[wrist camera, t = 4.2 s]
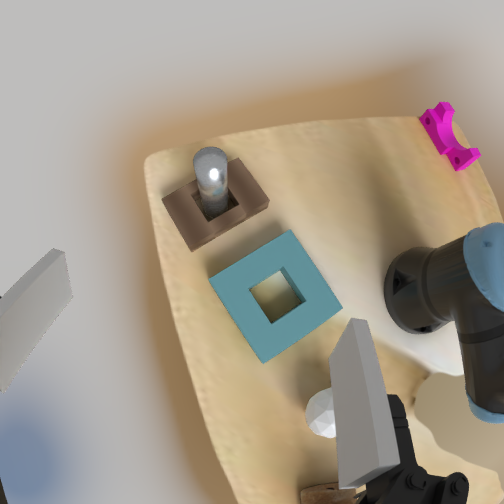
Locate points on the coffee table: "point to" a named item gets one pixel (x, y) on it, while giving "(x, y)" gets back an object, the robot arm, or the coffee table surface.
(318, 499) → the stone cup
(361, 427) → the robot arm
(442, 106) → the magenta curved bracket
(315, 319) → the seat block
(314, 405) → the geometric ball
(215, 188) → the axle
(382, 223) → the coffee table surface
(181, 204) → the brown rectangular frame
